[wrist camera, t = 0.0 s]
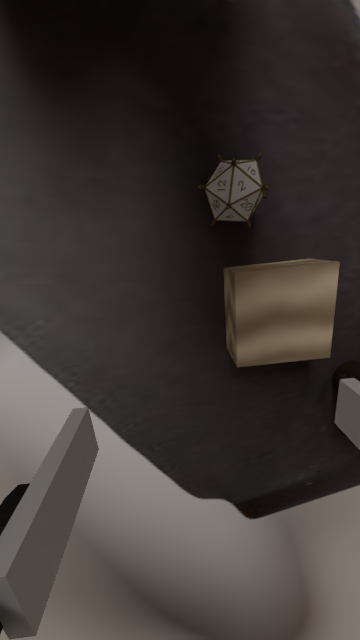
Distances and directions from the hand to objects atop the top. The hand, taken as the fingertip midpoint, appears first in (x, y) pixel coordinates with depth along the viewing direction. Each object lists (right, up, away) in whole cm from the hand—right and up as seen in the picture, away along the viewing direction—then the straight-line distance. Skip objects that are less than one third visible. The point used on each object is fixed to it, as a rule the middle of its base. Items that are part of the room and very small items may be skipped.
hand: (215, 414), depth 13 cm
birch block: (+13, +7, +28) cm, 32 cm away
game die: (+5, +23, +23) cm, 32 cm away
